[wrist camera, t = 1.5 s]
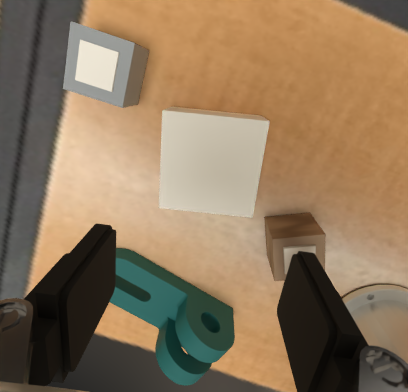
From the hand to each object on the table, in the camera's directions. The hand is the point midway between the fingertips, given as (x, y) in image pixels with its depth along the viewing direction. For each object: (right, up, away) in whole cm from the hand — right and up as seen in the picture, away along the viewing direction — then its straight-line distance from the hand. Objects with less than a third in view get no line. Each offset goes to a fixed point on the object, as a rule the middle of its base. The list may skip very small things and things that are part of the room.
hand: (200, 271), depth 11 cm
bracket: (-5, -9, +26) cm, 28 cm away
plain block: (+1, +7, +19) cm, 20 cm away
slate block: (-8, +15, +16) cm, 23 cm away
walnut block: (+10, -1, +21) cm, 24 cm away
